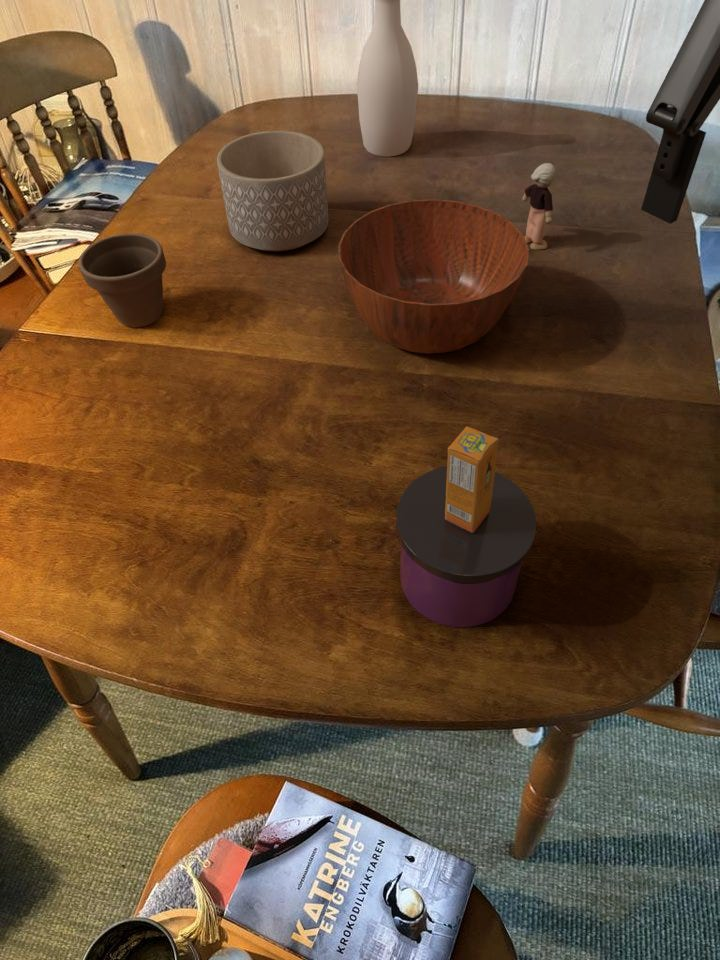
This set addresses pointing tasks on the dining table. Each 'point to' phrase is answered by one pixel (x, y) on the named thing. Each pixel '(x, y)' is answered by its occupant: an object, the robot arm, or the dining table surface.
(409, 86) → the bottle
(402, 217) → the bowl
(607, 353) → the dining table surface
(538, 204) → the grandmother figurine
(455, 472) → the supplement box
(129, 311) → the flower pot
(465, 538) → the jar
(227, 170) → the planter
